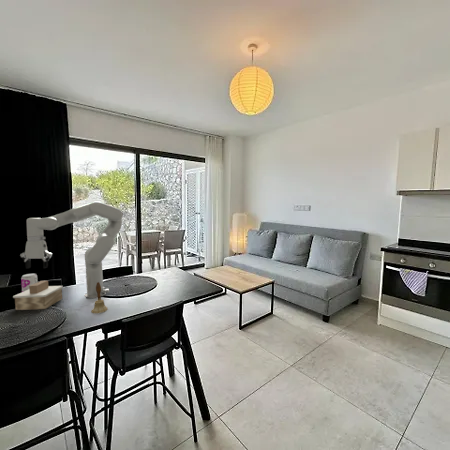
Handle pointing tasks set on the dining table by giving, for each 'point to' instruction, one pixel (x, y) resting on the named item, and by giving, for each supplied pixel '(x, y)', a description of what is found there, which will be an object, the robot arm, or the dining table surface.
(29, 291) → the lid
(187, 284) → the dining table surface
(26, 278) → the supplement can
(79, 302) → the dining table surface
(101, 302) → the hand bell
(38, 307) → the box
